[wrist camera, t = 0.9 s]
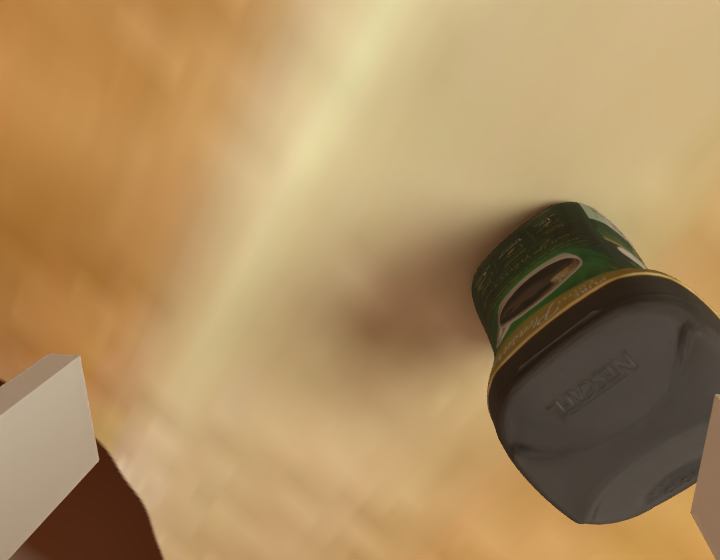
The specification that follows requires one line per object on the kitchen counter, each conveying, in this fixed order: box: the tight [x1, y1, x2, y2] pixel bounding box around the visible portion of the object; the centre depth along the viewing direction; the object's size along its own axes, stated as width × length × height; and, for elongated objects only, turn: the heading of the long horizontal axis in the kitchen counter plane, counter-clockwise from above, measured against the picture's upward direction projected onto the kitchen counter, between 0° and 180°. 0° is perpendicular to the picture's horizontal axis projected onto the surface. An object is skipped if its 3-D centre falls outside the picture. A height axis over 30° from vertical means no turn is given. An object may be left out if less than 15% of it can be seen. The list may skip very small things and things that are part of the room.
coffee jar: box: [472, 202, 720, 525], centre depth 29 cm, size 10×8×19 cm
